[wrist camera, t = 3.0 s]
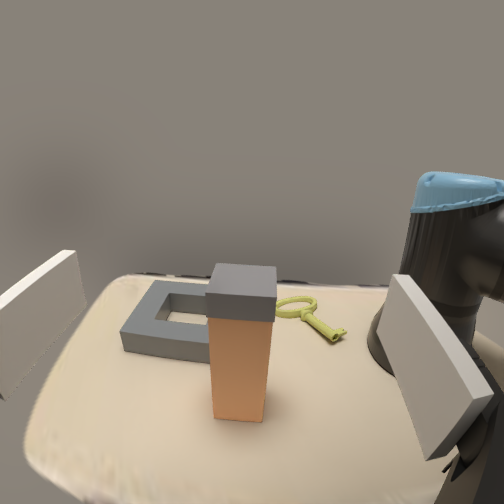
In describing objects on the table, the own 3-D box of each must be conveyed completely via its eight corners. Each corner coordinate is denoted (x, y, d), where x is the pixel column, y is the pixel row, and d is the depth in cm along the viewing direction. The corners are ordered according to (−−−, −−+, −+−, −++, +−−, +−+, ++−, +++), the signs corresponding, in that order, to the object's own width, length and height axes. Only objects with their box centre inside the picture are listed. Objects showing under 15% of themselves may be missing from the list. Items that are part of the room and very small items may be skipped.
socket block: (241, 304, 44) (241, 287, 43) (230, 365, 32) (230, 345, 31) (157, 297, 45) (155, 280, 44) (124, 350, 33) (119, 331, 32)
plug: (264, 388, 29) (276, 266, 24) (262, 423, 25) (276, 297, 20) (219, 384, 29) (216, 262, 24) (212, 418, 25) (205, 292, 20)
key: (334, 351, 36) (337, 337, 35) (264, 311, 44) (265, 299, 43) (360, 327, 40) (364, 315, 39) (295, 295, 48) (296, 284, 48)
